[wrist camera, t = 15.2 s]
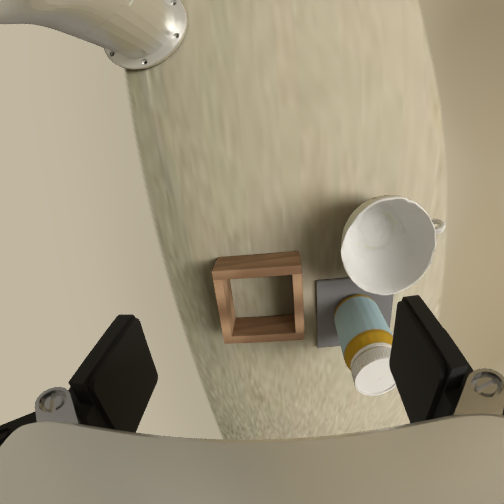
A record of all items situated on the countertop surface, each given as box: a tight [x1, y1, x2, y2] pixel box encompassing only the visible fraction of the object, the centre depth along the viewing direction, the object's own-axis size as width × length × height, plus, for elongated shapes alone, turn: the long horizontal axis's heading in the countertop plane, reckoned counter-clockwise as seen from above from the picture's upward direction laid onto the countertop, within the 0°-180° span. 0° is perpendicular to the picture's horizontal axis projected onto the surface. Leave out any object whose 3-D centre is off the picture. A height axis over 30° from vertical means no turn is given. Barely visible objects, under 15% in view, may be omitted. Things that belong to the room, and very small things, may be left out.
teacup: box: [341, 195, 446, 295], centre depth 39 cm, size 15×12×8 cm
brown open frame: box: [212, 251, 305, 344], centre depth 45 cm, size 11×11×5 cm
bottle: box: [334, 294, 396, 396], centre depth 40 cm, size 7×7×15 cm
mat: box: [316, 277, 393, 348], centre depth 48 cm, size 12×12×1 cm
